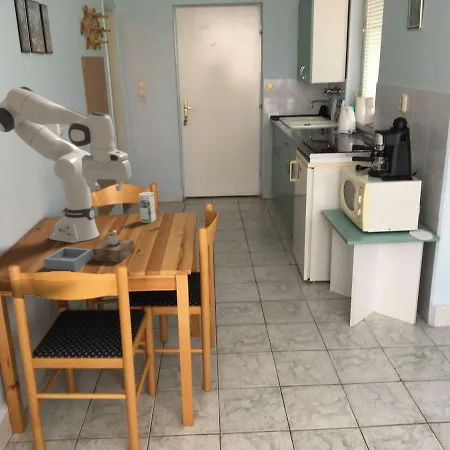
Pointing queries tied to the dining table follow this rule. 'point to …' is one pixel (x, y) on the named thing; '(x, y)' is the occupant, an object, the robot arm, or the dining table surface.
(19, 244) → the dining table surface
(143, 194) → the syrup box
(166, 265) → the dining table surface
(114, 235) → the metal pin
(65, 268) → the grey tray
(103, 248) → the walnut block
